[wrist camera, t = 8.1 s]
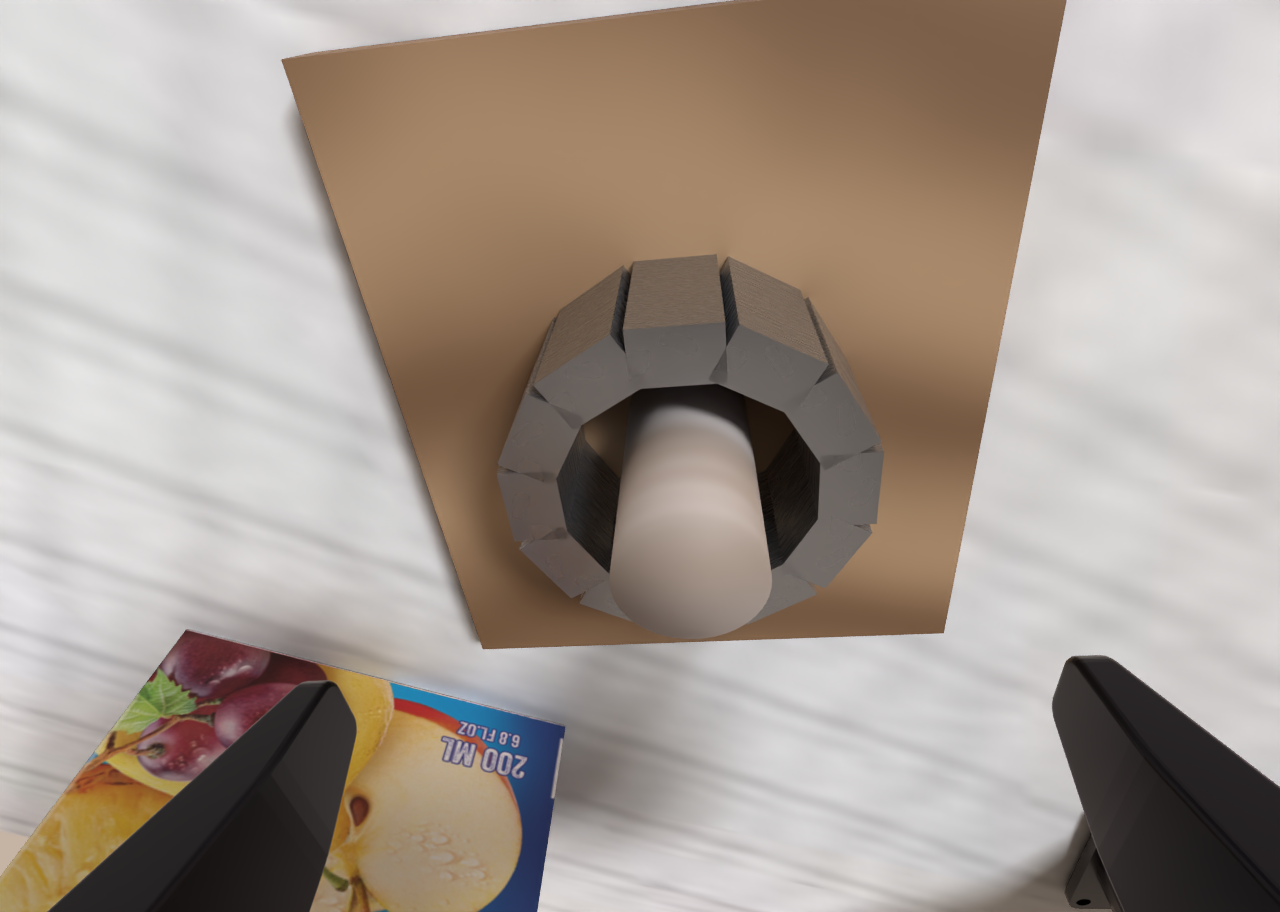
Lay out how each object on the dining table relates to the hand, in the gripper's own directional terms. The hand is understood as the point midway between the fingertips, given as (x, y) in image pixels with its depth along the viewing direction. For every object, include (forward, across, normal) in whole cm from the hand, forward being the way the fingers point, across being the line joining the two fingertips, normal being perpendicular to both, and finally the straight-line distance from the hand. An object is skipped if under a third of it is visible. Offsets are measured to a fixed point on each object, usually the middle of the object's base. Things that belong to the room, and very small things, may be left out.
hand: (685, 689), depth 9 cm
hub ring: (+7, 0, 0) cm, 7 cm away
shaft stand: (+8, 0, 0) cm, 8 cm away
